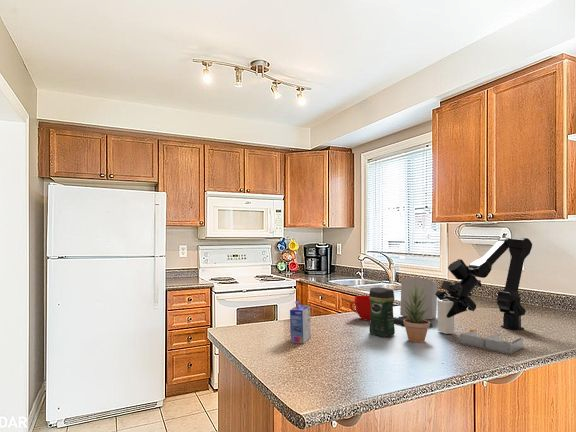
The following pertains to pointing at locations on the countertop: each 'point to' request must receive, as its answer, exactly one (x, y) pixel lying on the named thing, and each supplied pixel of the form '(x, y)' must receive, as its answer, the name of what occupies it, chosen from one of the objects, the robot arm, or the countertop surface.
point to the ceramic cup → (362, 307)
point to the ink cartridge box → (300, 323)
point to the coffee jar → (381, 312)
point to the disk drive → (400, 319)
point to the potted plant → (416, 317)
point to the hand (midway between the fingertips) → (442, 315)
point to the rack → (490, 342)
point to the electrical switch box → (429, 299)
